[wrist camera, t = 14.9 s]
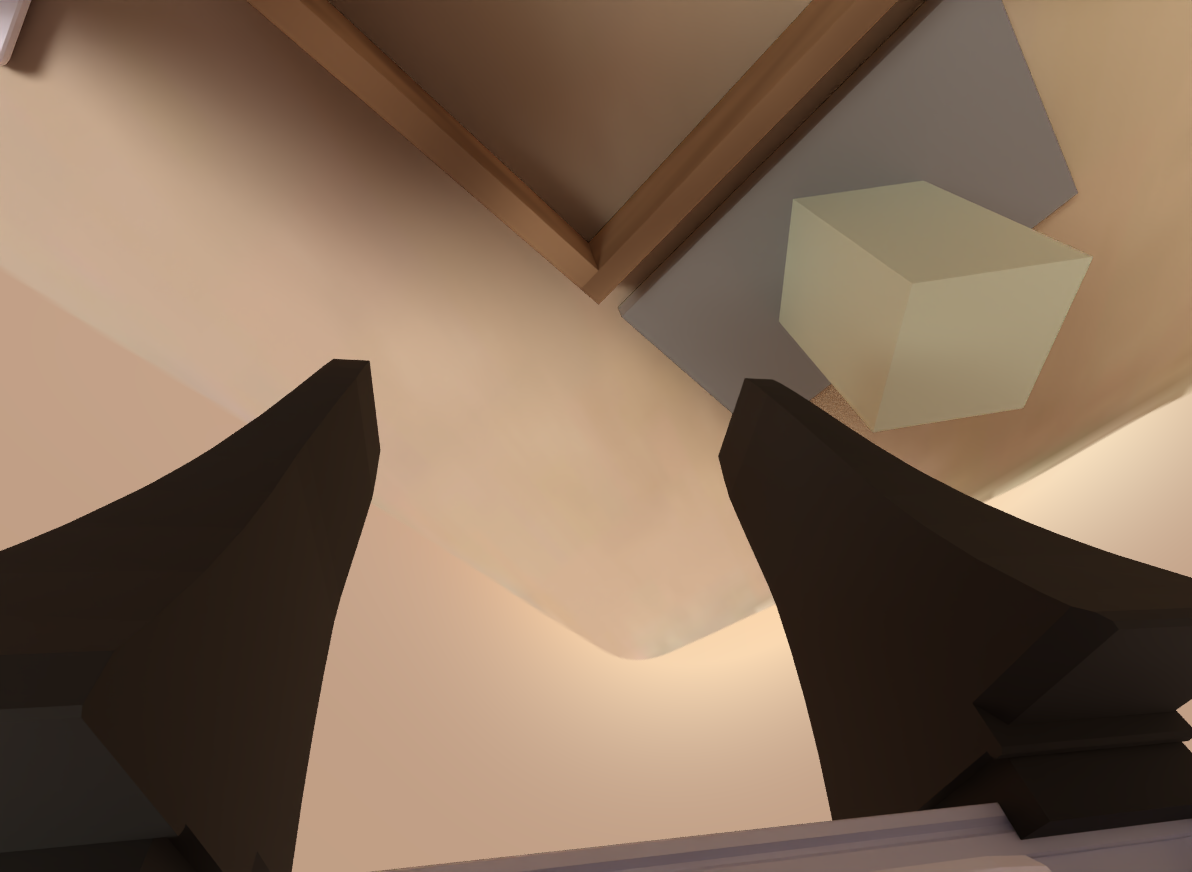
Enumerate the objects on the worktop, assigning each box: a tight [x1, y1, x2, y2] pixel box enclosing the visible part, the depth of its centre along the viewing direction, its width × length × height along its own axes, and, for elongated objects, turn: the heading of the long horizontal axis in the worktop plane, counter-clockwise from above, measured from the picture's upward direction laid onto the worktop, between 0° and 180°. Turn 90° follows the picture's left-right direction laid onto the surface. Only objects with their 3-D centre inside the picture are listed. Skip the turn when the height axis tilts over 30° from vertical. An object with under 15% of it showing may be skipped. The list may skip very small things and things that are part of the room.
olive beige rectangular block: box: [779, 181, 1093, 433], centre depth 18 cm, size 4×5×7 cm
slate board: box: [618, 0, 1078, 414], centre depth 21 cm, size 9×14×1 cm, turn 136°
